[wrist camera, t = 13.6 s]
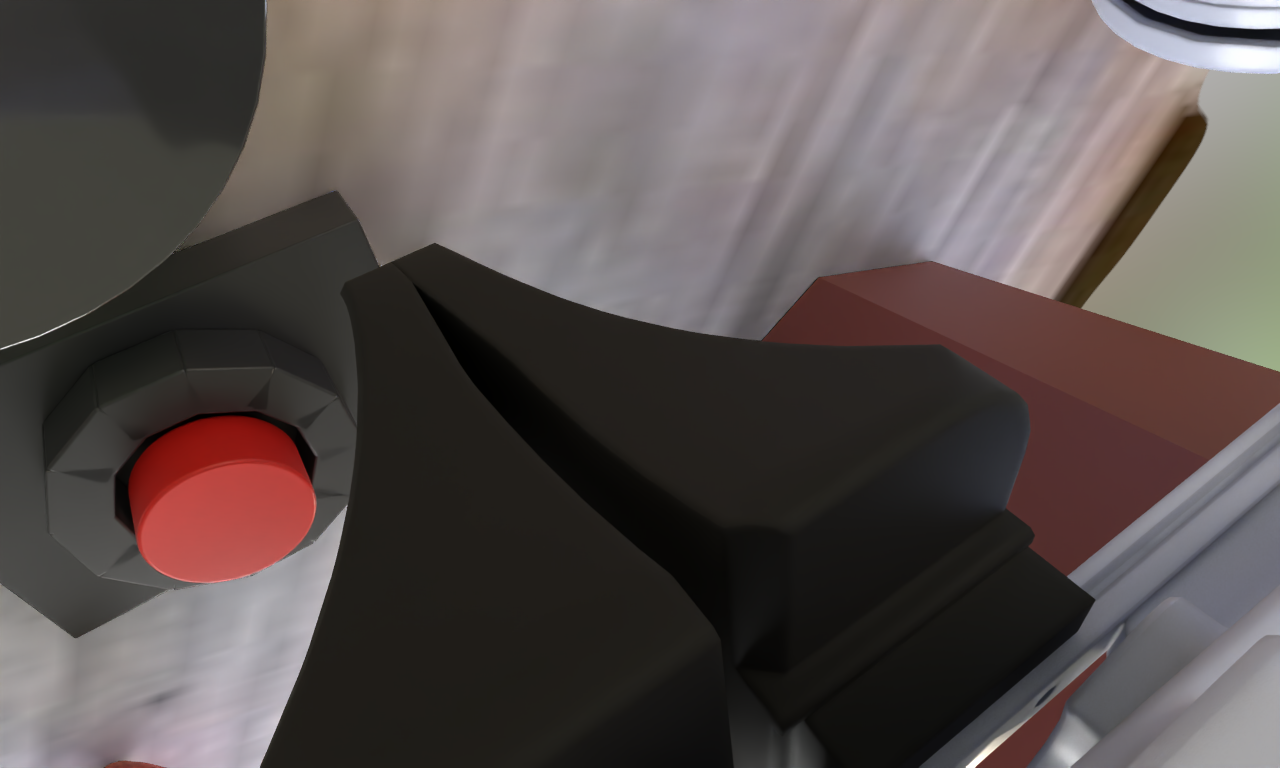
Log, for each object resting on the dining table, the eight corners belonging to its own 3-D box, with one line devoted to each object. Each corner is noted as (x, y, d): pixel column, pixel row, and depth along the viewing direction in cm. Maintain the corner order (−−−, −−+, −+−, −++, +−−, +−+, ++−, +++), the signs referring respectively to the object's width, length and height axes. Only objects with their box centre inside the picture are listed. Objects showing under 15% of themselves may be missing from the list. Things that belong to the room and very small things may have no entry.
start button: (257, 387, 18) (276, 433, 16) (322, 484, 20) (341, 529, 19) (90, 464, 16) (97, 519, 15) (181, 556, 19) (193, 608, 18)
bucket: (952, 65, 29) (2128, 493, 13) (1035, 321, 46) (1593, 644, 30) (531, 539, 31) (1087, 1397, 15) (757, 616, 48) (1135, 1064, 32)
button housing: (337, 188, 19) (381, 250, 17) (435, 407, 25) (478, 476, 23) (-179, 389, 16) (-208, 500, 14) (71, 590, 21) (79, 692, 19)
